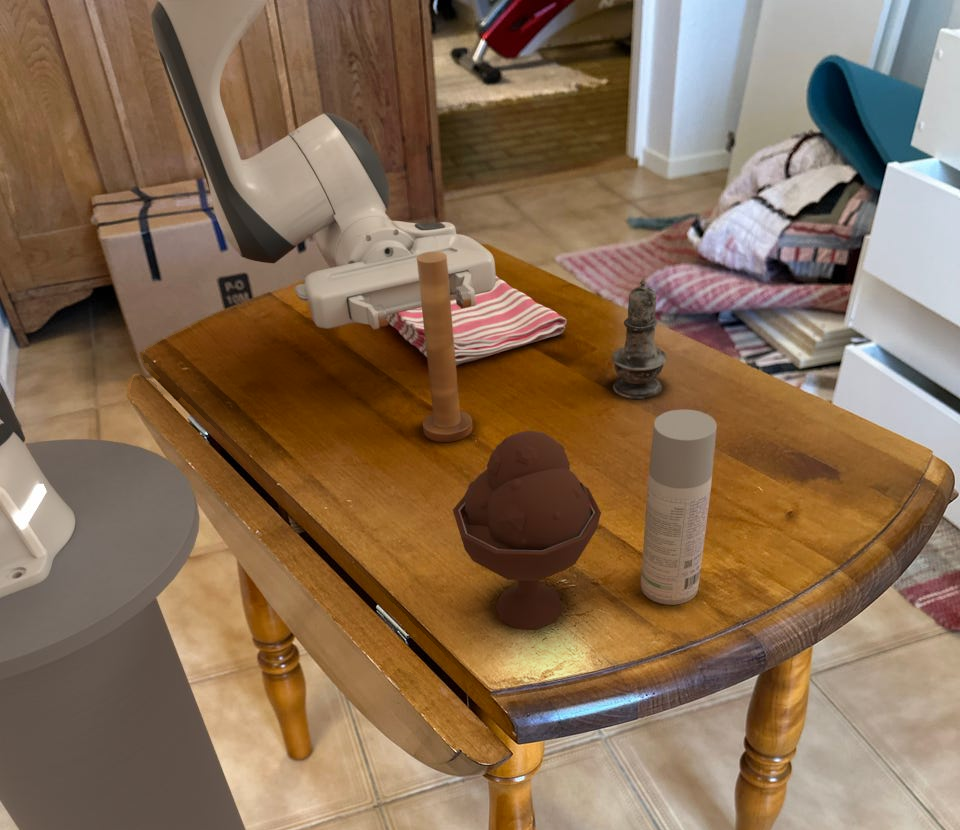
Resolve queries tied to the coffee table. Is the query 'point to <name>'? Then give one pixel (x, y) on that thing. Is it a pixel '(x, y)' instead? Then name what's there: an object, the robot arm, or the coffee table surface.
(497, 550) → the ice cream bowl
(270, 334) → the coffee table surface
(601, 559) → the coffee table surface
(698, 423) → the container
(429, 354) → the stirring stick
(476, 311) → the dish towel
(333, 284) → the robot arm
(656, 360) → the salt shaker
